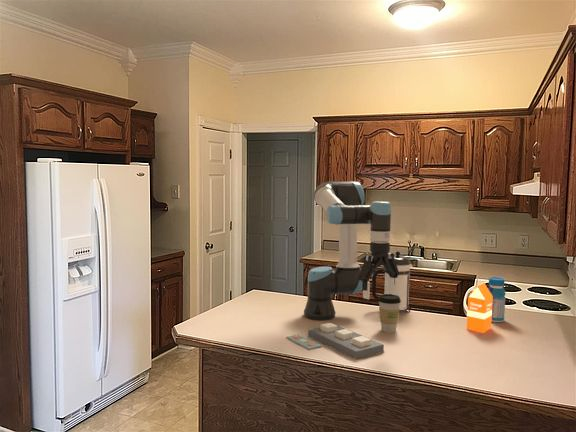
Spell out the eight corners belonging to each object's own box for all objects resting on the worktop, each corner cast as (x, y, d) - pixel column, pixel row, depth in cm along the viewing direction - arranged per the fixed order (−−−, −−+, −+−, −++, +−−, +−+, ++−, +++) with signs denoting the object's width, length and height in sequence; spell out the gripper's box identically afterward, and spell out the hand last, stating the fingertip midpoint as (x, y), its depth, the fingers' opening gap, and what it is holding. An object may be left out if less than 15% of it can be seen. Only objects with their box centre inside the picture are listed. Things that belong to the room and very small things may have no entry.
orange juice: (466, 328, 214) (468, 284, 212) (474, 324, 220) (476, 281, 218) (484, 333, 208) (486, 287, 207) (491, 328, 215) (493, 284, 213)
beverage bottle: (499, 323, 222) (501, 281, 220) (481, 319, 228) (483, 278, 226) (507, 320, 227) (509, 278, 225) (490, 316, 233) (492, 275, 232)
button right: (351, 347, 185) (352, 338, 185) (361, 344, 188) (361, 335, 188) (360, 351, 181) (360, 342, 181) (370, 348, 184) (370, 339, 184)
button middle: (335, 339, 194) (335, 331, 193) (345, 337, 196) (345, 328, 196) (343, 343, 189) (343, 334, 189) (353, 340, 192) (353, 332, 192)
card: (286, 338, 199) (286, 336, 199) (298, 335, 202) (298, 333, 202) (309, 349, 186) (309, 347, 186) (321, 347, 189) (321, 345, 189)
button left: (320, 332, 202) (320, 324, 202) (329, 330, 205) (329, 322, 204) (327, 336, 198) (327, 327, 197) (337, 333, 200) (337, 325, 200)
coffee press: (390, 304, 254) (391, 247, 251) (416, 310, 243) (418, 251, 240) (370, 310, 242) (372, 251, 239) (398, 317, 230) (399, 255, 228)
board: (308, 336, 202) (308, 329, 201) (334, 330, 209) (334, 323, 209) (356, 359, 177) (356, 351, 176) (383, 352, 184) (383, 344, 184)
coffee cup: (400, 334, 205) (401, 300, 204) (377, 332, 207) (377, 298, 206) (399, 327, 215) (400, 294, 213) (377, 325, 217) (378, 293, 215)
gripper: (363, 245, 174) (362, 302, 176) (409, 240, 189) (407, 293, 190) (349, 242, 180) (348, 298, 182) (394, 238, 195) (393, 290, 196)
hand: (378, 296), depth 186 cm, fingers open, 13 cm apart
